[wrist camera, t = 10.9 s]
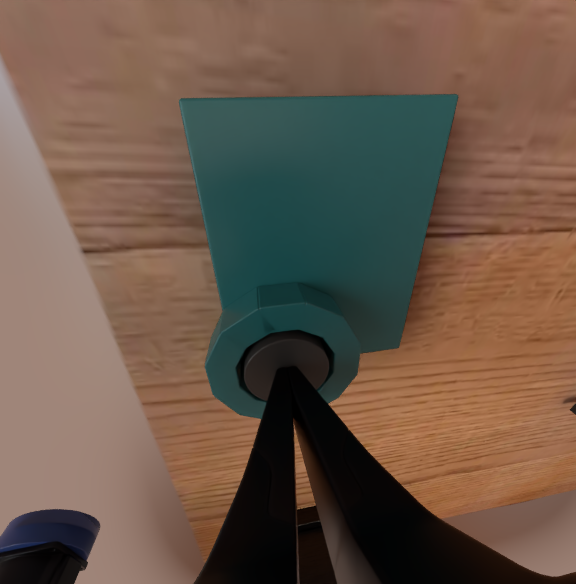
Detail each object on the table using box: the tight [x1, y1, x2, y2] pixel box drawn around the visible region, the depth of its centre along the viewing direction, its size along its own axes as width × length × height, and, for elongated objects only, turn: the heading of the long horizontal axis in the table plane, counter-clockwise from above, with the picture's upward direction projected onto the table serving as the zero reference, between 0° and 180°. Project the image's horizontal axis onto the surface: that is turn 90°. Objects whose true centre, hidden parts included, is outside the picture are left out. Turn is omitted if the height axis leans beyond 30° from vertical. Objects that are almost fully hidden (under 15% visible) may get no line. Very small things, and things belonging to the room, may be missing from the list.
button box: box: [179, 94, 458, 419], centre depth 10 cm, size 10×13×4 cm
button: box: [244, 329, 329, 401], centre depth 10 cm, size 4×4×2 cm
